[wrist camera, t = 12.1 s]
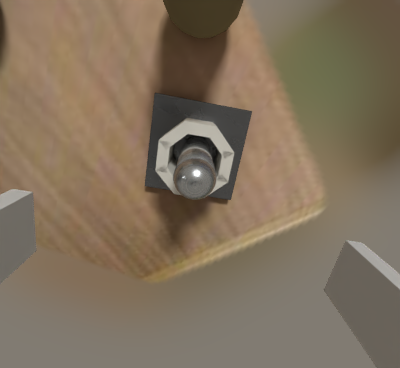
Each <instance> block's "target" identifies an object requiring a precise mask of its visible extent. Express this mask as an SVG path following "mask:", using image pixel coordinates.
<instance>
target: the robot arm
mask: <svg viewBox="0 0 400 368" xmlns="http://www.w3.org/2000/svg"><path fill="white" fill-rule="evenodd" d="M34 252H36V237H35V220H34V202H33V192H29V191H23V190H16V189H11V190H9V191H7V192H5V193H3V194H1V195H0V284H1V283H2V282H3V281H4V280H5V279H6V278H7V277H8V276H9V275H10V274H12V273H13V272H14V271H15V270H16V269H17V268H18V267H19V266H20V265H21V264H22V263H24V262H25V261H26V260H27V259H28V258H29V257H30V256H31V255H32V254H33V253H34ZM324 291H325V293H326V294H327V296H328V297H329V298H330V300H331V301H332V303H333V304H334V306H335V307H336V309H337V310H338V312H339V313H340V314H341V316H342V317H343V319H344V320H345V322H346V323H347V325H348V326H349V328H350V329H351V330H352V332H353V333H354V335H355V336H356V338H357V339H358V341H359V342H360V344H361V345H362V347H363V348H364V349H365V351H366V352H367V354H368V355H369V357H370V358H371V360H372V361H373V363H374V364H375V366H376V367H377V368H400V274H399V273H398V272H396V271H395V270H394V269H393V268H392V267H390V266H389V265H388V264H387V263H386V262H384V261H383V260H382V259H381V258H380V257H379V256H377V255H376V254H375V253H374V252H373V251H371V250H370V249H369V248H368V247H366V246H365V245H364V244H363V243H360V242H353V241H347V240H346V241H345V243H344V245H343V248H342V250H341V252H340V255H339V257H338V259H337V261H336V264H335V266H334V268H333V271H332V273H331V275H330V277H329V279H328V282H327V284H326V286H325V288H324Z"/></svg>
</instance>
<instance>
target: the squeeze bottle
mask: <svg viewBox="0 0 400 368" xmlns="http://www.w3.org/2000/svg"><path fill="white" fill-rule="evenodd" d="M163 2H164V5H165V7H166V10H167V12H168V14H169V17H170V19H171V20H172V21H173V22H174V23H175V24H176V25H177V27H178V28H179V29H180V30H181V31H182V32H184V33H187V34H189V35H191V36H193V37H196V38H212V37H214V36H216V35H218V34H220V33H222V32H224V31H226V30H227V29H228V27H229V26H230V25H231V24H232V23H233V22H234V20H235V19H236V18H237V17H238V14H239V11H240V9H241V6H242V3H243V0H163Z"/></svg>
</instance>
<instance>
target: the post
mask: <svg viewBox="0 0 400 368" xmlns="http://www.w3.org/2000/svg"><path fill="white" fill-rule="evenodd" d="M251 114H252V111H248V110H242V109H237V108H232V107H227V106H221V105H216V104H211V103H206V102H200V101H195V100H190V99H185V98H179V97H174V96H169V95H163V94H158V93H155V96H154V105H153V114H152V124H151V133H150V142H149V151H148V161H147V170H146V179H145V186H148V187H154V188H160V189H166V190H170V188H169V187H168V186H167V185H166V183H165V182H164V181H163V180H162V178H161V177H160V176H159V175H158V173H157V172H156V171H155V169H156V161H157V152H158V143H159V139H160V138H162V137H163V136H164V135H165V134H166V133H167V132H168V131H170V130H171V129H172V128H174V127H175V126H176V125H178V124H179V123H181V122H182V121H183V120H185V119H186V118H192V119H198V120H203V121H209V122H213V123H214V124H215V125H216V126H217V127H218V129H219V130H220V132H221V133H222V135H223V136H224V138H225V139H226V141H227V142H228V144H229V145H230V147H231V148H232V150H233V151H234V157H233V162H232V166H231V171H230V175H229V180H228V183H226V184H225V185H223V186H222V187H220V188H219V189H217V190H215V191H214V192H212V190H213V189H214V187H215V185H216V180H217V177H216V172H215V168H214V164H213V163H214V161H215V156H216V151H217V147H216V146H215V144H214V143H213V142H212V140H211V139H210V138H209V137H203V136H197V135H191V134H187V135H186V136H184V137H183V138H181V139H180V140H179V141H177V142H176V143H175V144H174V151H173V157H174V158H175V160H176V161H177V165H176V168H175V171H174V175H173V181H174V185H175V187H176V189H177V191H178V192H179V193H180V194H181V195H182V196H184V197H185V198H188V199H191V200H199V199H202V198H204V197H206V196H209V197H216V198H222V199H228V200H231V197H232V193H233V189H234V184H235V180H236V176H237V172H238V168H239V164H240V159H241V155H242V151H243V147H244V143H245V139H246V134H247V130H248V126H249V122H250V118H251ZM211 192H212V193H211ZM210 193H211V194H210Z"/></svg>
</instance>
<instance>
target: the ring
mask: <svg viewBox="0 0 400 368" xmlns="http://www.w3.org/2000/svg"><path fill="white" fill-rule="evenodd" d="M187 134H191V135H197V136H203V137H209V138H210V139H211V140H212V142H213V143H214V144H215V146H216V147H217V151H216V156H215V161H214V163H213V164H214V168H215V172H216V177H217V180H216V185H215V187H214V189H213V190H212V192H214V191H215V190H217V189H219V188H220V187H222V186H223V185H225V184H226V183H228V180H229V175H230V171H231V166H232V162H233V157H234V151H233V150H232V148H231V147H230V145H229V144H228V142H227V141H226V139H225V138H224V136H223V135H222V133H221V132H220V130H219V129H218V127H217V126H216V125H215V124H214V123H213V122H209V121H203V120H198V119H192V118H186V119H185V120H183V121H182V122H181V123H179V124H178V125H176V126H175V127H174V128H172V129H171V130H170V131H168V132H167V133H166V134H165V135H164V136H163V137H162V138H160V139H159V143H158V152H157V161H156V169H155V171H156V172H157V173H158V175H159V176H160V177H161V178H162V180H163V181H164V182H165V183H166V185H167V186H168V187H169V188H170V190H171V191H172V192H173V193H174V194H177V195H181V194H180V193H179V192H178V191H177V189H176V187H175V185H174V181H173V175H174V171H175V168H176V165H177V161H176V160H175V158H174V157H173V151H174V144H175V143H176V142H177V141H179V140H180V139H181V138H183V137H184V136H186V135H187ZM212 192H211V193H212ZM211 193H210V194H211ZM204 198H205V197H204Z"/></svg>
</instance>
